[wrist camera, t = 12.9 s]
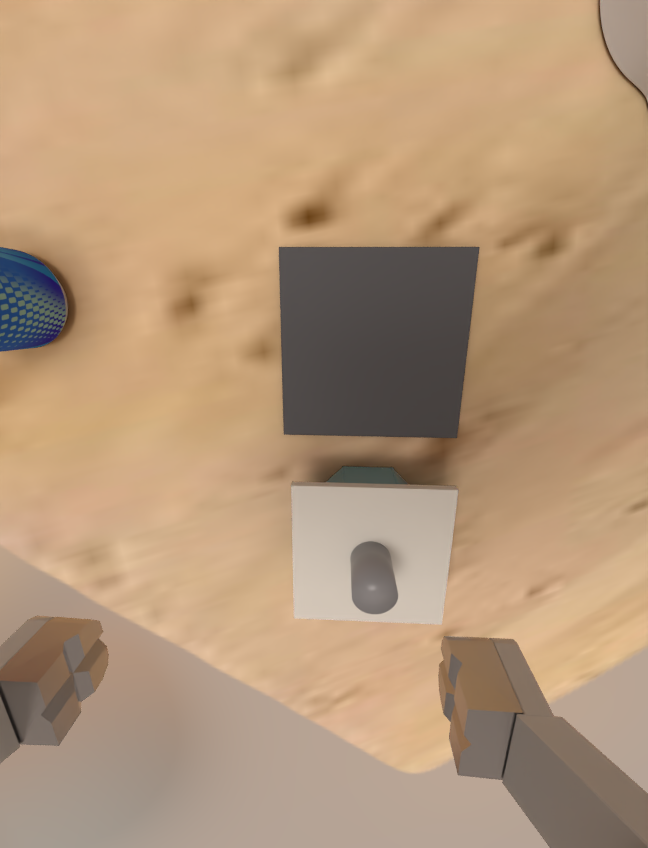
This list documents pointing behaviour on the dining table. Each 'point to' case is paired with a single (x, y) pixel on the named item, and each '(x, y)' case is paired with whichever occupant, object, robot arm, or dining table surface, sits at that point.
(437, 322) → the mat
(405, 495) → the cover board
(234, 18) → the dining table surface
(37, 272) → the beer can
